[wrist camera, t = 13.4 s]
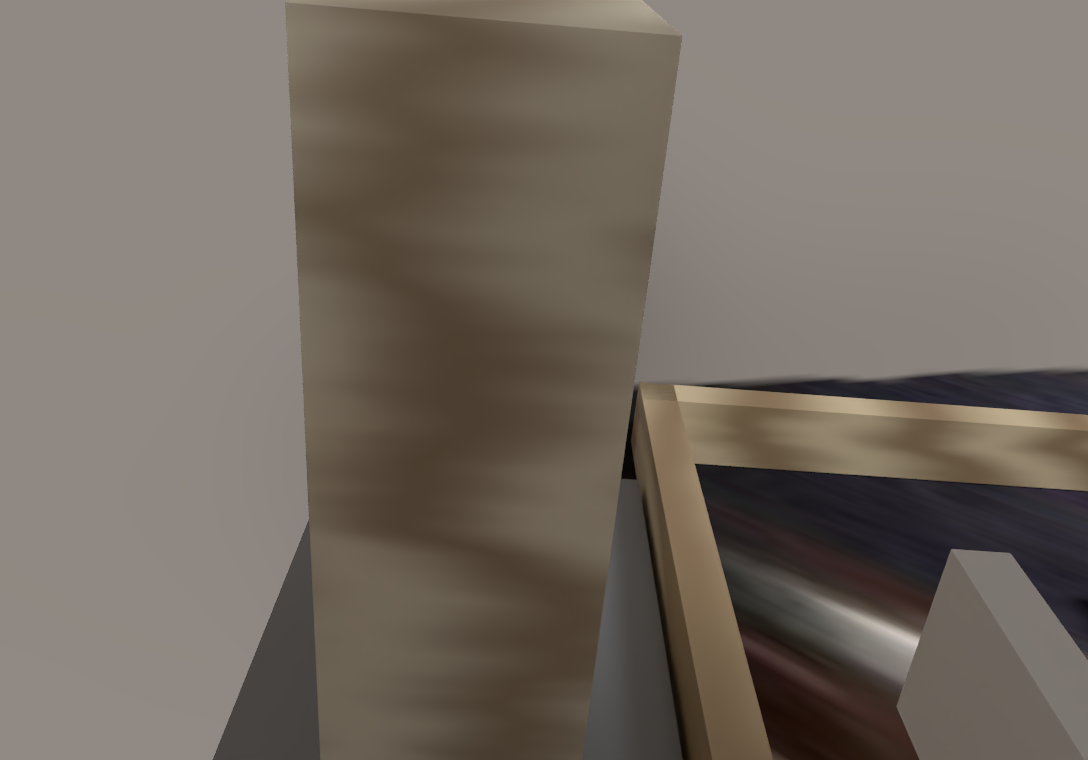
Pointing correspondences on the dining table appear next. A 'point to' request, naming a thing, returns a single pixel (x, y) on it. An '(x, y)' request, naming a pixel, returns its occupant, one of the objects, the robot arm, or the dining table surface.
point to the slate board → (617, 690)
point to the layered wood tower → (469, 354)
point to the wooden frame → (801, 445)
